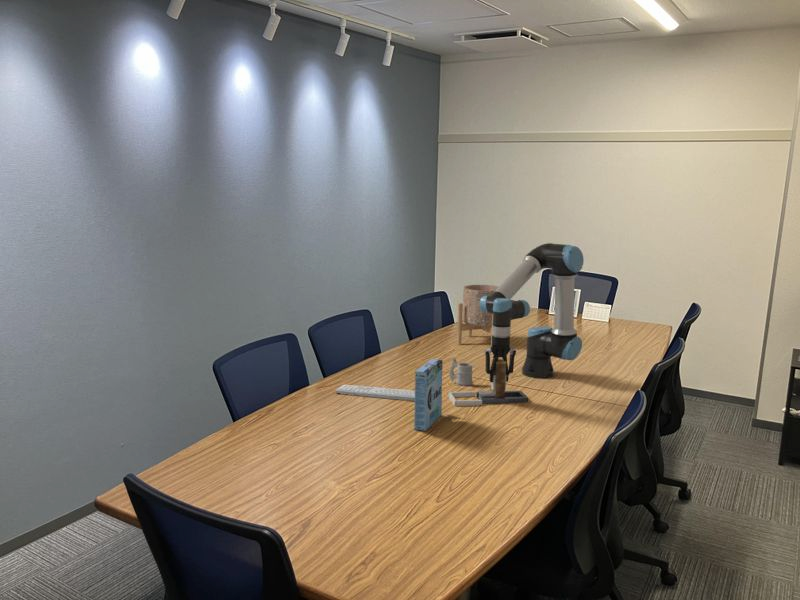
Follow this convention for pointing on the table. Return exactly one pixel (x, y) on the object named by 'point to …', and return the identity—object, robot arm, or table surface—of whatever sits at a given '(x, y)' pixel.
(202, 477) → the table surface
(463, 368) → the mug
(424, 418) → the gum box
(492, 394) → the chip
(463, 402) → the tray
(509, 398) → the dark grey open case
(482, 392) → the grey squarish block
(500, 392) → the tan block
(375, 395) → the keyboard
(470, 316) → the planter
